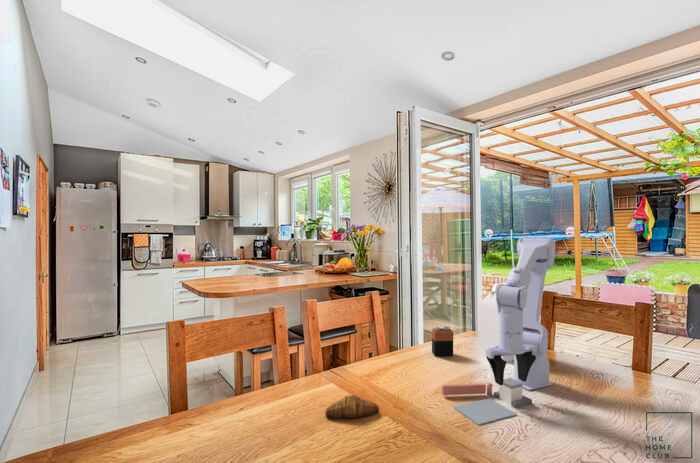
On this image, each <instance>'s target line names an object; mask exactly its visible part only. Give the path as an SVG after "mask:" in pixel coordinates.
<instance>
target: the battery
mask: <svg viewBox="0 0 700 463" xmlns="http://www.w3.org/2000/svg"><path fill="white" fill-rule="evenodd" d="M431 353H432V354H433V356H434V357H436V356H440V357H454V331H453V329H451V327H450V326H443V328H442V327H438V326H436V327H435V328H432V329H431Z"/></svg>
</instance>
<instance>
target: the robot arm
mask: <svg viewBox="0 0 700 463" xmlns="http://www.w3.org/2000/svg"><path fill="white" fill-rule="evenodd" d="M516 252H517V255H518V261H517V265H516V267H513V268H511V270H510V271H509V274H508V276H507V278H506V280H505V282H504V283H505V284H504V286H502V287H499V288H498V290H497V295H496V302H497V305H498V313H500V343H499V344H498V346H496V347H493V348H490V349H486V356H485V358H486V359H487V362H488V363H489V366H490V367H491V370H492V373H493V377H494V382H495V384H497V385H498V386H499V385H503V380H504V379H505V377H504V375H505V374H504V373H505V369H506V366H507V363H508V361H504V360H502V358H501V356H508V355H514V360H513V362H514V364H513V365H514V366H513V367H514V368H513V369H514V370H513V372H514V373H513V374H514V375H513V376H512V377H510V378H512V379H514V380H516V381H518V382H520V383H522V384H523V387H522V389H524V390H527V391H532V390H536V389H541V388H545V387H549V386H552V385H553V384H552V382H550V361H549V358H548V356H547V355H546V354H547V352H548V349H549V348H548V347H549V332H548V330H547V328H546V326H544V325H543V324H542V323H540V316H541V309H542V302H543V293H544V289H545V288H544V287H545V280H546V274H547V271H548V270H549V269H552V268H553V267H554V264H555V259H556V258H555V256H556V241H555V240H554V239H553V238H552V237H551V238H550V237H549V238H542V237H541V238H536V237H534V238H533V237H532V238H531V237H527V238H526V237H519V239H518V240H517V244H516Z"/></svg>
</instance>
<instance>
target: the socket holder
mask: <svg viewBox="0 0 700 463" xmlns="http://www.w3.org/2000/svg"><path fill="white" fill-rule="evenodd" d="M493 396H494V397H495V398H499V390H498V391H494V392H493ZM499 399H500V398H499ZM532 404H533V399H531V398H530V397H527V396H525V395H523V394H522V399H521V400H517V401H513V402H511V405H510V406H511V407H513V408H514V409H515V408H520V407H524V406H528V405H532Z"/></svg>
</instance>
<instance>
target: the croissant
mask: <svg viewBox="0 0 700 463" xmlns="http://www.w3.org/2000/svg"><path fill="white" fill-rule="evenodd" d="M379 412H380V408H379V405H378V404H377V403H375V402H373V401H371V400H367V399H365V398H361V397H360V396H358V395H354V394H353V395H352V394H350V395H349V394H348V395H346V396H343V397H342V398H341V399H340V400H338V401H336V402H334V403H332V404H331V405H329V406H328V407H327V408H326V409H325V416H326V418H329V419H340V420H341V419H349V420H350V419H352V420H355V419H359V418H364V417H369V416H374V415H376V414H378V413H379Z"/></svg>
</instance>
